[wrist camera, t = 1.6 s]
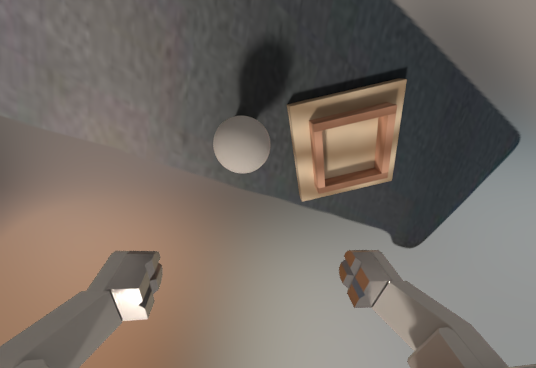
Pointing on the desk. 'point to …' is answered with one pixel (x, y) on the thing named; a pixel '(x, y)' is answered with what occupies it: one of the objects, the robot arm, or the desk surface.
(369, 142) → the docking base
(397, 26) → the desk surface
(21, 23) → the desk surface
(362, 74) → the desk surface
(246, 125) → the light bulb
